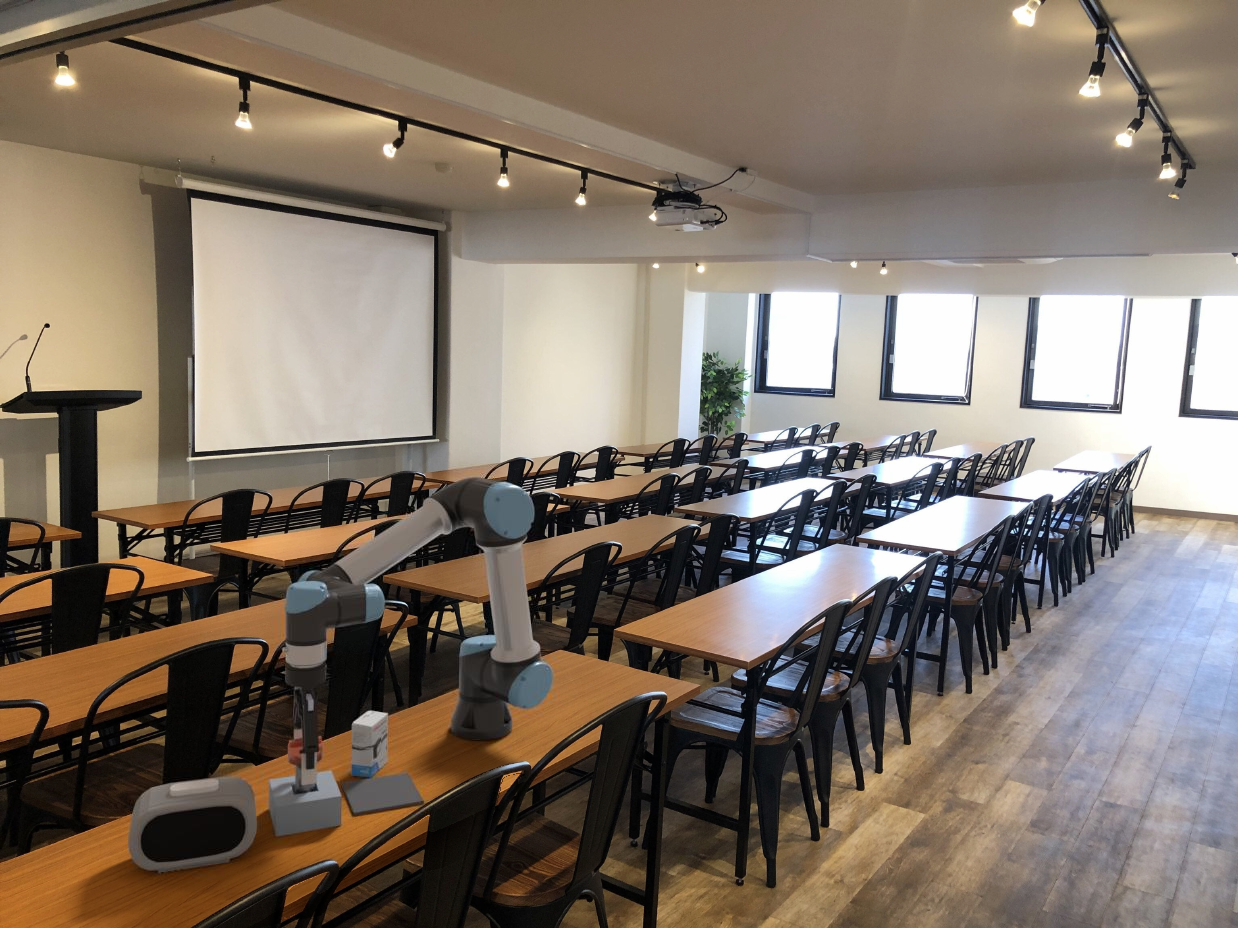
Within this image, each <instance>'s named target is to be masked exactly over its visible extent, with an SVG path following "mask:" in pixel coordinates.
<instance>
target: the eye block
mask: <svg viewBox="0 0 1238 928" xmlns="http://www.w3.org/2000/svg"><path fill="white" fill-rule="evenodd" d="M333 773H334V772H333V771H332V770H326V771H317V783H315V792H308V793H302V794H296V795H295V775H292V776H284V777H279V778H278V777H277V778H272V779H269V781H268V782H269V783H268V785H269V786H268V789H269V790H268V794H269V795H268V800H269V801H268V808H269V812H270V813H269V814H270V817H271V822H272V827H273V829H274V835H275V837H276V838H278V837H283V836H288V835H294V834H300V833H305V832H311V831H316V830H323V829H328V828H334V827H338V826H339V827H340V826H342V808H343V807H342V805H343V804H342V803H343V802H342V801H343V800H342V793H341V791H340V789H339V788H340V787H339V786H338V783H337V781H336V779H335V775H334V774H333Z"/></svg>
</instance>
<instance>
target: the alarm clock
mask: <svg viewBox="0 0 1238 928" xmlns="http://www.w3.org/2000/svg"><path fill="white" fill-rule="evenodd" d="M257 819H258V818H257V808H256V798H255V792H254V789H253V787H252V785H251V784H250V783H249V782H248V781H247V780H245V779H244V778H241V777H239V776H218V777H217V776H216V777H208V778H202V779H194V780H186V781H177V782H169V783H165V784H161V785H157V786H153V787H152V786H151V787H150V788H149V789H147V790H145V791H144V792H143V793H141V795H140V796H139V797H138V799H137V800H136V801H135V804H134V807H133V810H132V814H131V819H130V820H131V821H130V825H129V833H128V839H127V840H128V842H127V845H128V852H129V855H130V857H131V860H132V861H133V862H134V863H135V864H136V865H137V866H138V868H141V869H144V870H146V871H157V873H158V874H162V873H161V872H164V873H167V872H166V871H171V872H175V871H174V870H177V871H181V870H180V869H183V870H188V869H194V868H201V867H206V866H207V867H208V866H212V865H213V866H214V865H218V864H225V863H230V861H231V859H234V858H238V857H239V856H241V855H243V854H244V853H245V852H247V851H248V849H249V848H250V846H252V844H253V842H254V840H255V837H256V834H257V828H258V821H257ZM193 867H194V868H193Z"/></svg>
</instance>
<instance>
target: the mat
mask: <svg viewBox="0 0 1238 928" xmlns="http://www.w3.org/2000/svg"><path fill="white" fill-rule="evenodd" d="M341 787H342V789H343V791H344V792H343V793H344V794H345V797H346V800H347V803H349V806H350V809H351V811H352V814H353V816H361V815H365V814H370V813H377V812H382V811H389V810H395V809H400V808H406V807H411V806H417V805H423V804H425V800H424V799H423V797H422V795H421V793H420V792H419V790H418V788H417V787H416V785H415V783H414V780H413V779H412V778H411V776H410V774H409V772H402V773H397V774H396V773H395V774H389V775H384V776H382V775H381V776H376V777H371V778H365V779H363V778H362V779H359V780H352V781H351V780H350V781H346V782H345V781H344V782H341Z"/></svg>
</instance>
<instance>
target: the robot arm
mask: <svg viewBox="0 0 1238 928" xmlns="http://www.w3.org/2000/svg"><path fill="white" fill-rule="evenodd" d="M534 520H535V506H534V503H533V499H532V497H531V496H530V494H529V493H528V492H527V491H526V490H524V489H523V488H522V487H520V486H518V485H515V484H513V483H510V482H507V481H497V480H493V479H487V478H483V477H478V476H477V477H476V476H475V477H474V476H472V477H466V478H462V479H460V480H458V481H455V482H453V483H451V484H449V485H447V486H445V487H443V488H441V489H439V490H438V491H436V492H435V493H433V494H432V495H430V496H429V497H427V498H425V499H424V500H423V503H422V506H421V507H419V508H418V509H417V510H415V511H413V512H412V513H410V514H409V515H407V516H406V517H404V518H403V519H401V520H400V521H397V522H396V523H395V524H393V525H392V526H390V527H389V528H387V529H385V530H384V531H382V532H381V533H379V534H378V535H376V536H374V537H373V538H371V539H370V540H369V541H367V542H365V543H364V544H363V545H361V546H359V547H358V548H356V549H355V550H353V551H352V552H350V553H349V554H347V555H346V556H344V557H342V558H341V559H339V560H337V561H336V562H334V563H333V564H332V565H330V566H328V567H326V568H325V569H323V570H310V571H306V572H305V573H303V574H302V575H301V576H300V577H299V578H298V581H297V582H294V583H292V584H290V585H289V586H288V587H287V590H286V597H285V607H284V611H285V646H284V647H282V648H281V650H282V653H285V662H286V664H285V667H284V668H285V669H284V670H285V671H284V675H285V676H284V677H285V678H284V679H285V683H286V685H288V686H290V687H293V688H294V689H293V707H292V708H293V712H292V718H291V720H292V721H293V727H294V729H293V740H294V739H299V738H302V740H303V750H300V751H299V754H302V778H301V784H302V785H307V784H314V783H317V772H318V762H317V752H319V740H318V736H319V720H318V719H319V718H318V716H319V715H318V713H319V712H318V706H319V705H318V703H319V700H318V699H319V697H318V691H316V686H318V685H321V684H323V683H325V682H326V679H327V662H326V660H327V653H328V652H327V649H328V647H327V646H328V645H327V644H328V640H327V633H328V630H329V629H337V628H340V627H346V626H347V627H348V626H352V625H353V626H354V625H358V624H366V623H369V622H372V621H376V620H378V619H380V618H381V617H382V616H383V613H384V612H385V596H384V593H383V590H382V589H381V588H380V586H379V585H377V584H375V583H370V582H372V581H373V580H374V579H376V578H377V577H379V576H381V575H382V574H383V573H385V572H386V571H388V570H389V569H391V568H392V567H394V566H395V565H397V564H398V563H400V562H402V561H403V560H404V559H405V558H407V557H409V556H410V555H411V554H413V553H415V552H416V551H418V550H419V549H420V548H422V547H423V546H425V545H427V544H428V543H429V542H431V541H433V540H434V539H435V538H437V537H438V536H440V535H441V534H442V535H449V534H451V533H452V532H455V530H458V529H461V528H472V529H473V530H474V537H475V545H476V546H478V547H479V548H481V550H482V551H483V555H484V562H485V570H486V577H487V587H488V592H489V600H490V602H489V603H490V608H491V616H492V622H493V623H492V624H493V631H494V634H488V635H486V634H485V635H477V636H472V637H468V638H467V639H464V640H463V641H462V642H461V644H460V650H459V656H458V658H459V672H458V673H459V676H458V677H459V678H458V680H459V681H458V682H459V683H458V700H457V702H456V705H455V708H454V710H453V714H452V717H451V720H450V731H451V733H452V734H453V735H455V736H456V737H459V738H461V739H465V740H471V741H491V740H496V739H500V738H503V737H505V736H508V735H509V734H510V733H511V732H512V731H513V717H512V713H511V710H510V706H513V707H514V708H515V707H516V708H520V709H521V710H530V709H534V708H536V707H538V706H539V705H541V703H542V702H544V700H545V699H546V698H547V696H548V694H549V693H550V691H551V689H552V687H553V682H554V672H553V669H552V667H551V666H550V665H549V664H548V663H547V662H546V661H543V660H542V659H543V658H542V653H541V646H540V644H539V643H538V642H537V641H536V640H534V638H533V631H532V630H533V629H532V624H531V614H530V605H529V597H528V589H527V581H526V573H525V564H524V556H523V548H522V545H523V544H524V543H525V542H526V540H527V539H528V532H529V531H530V529H531V528H532V523H534ZM509 705H510V706H509Z"/></svg>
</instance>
